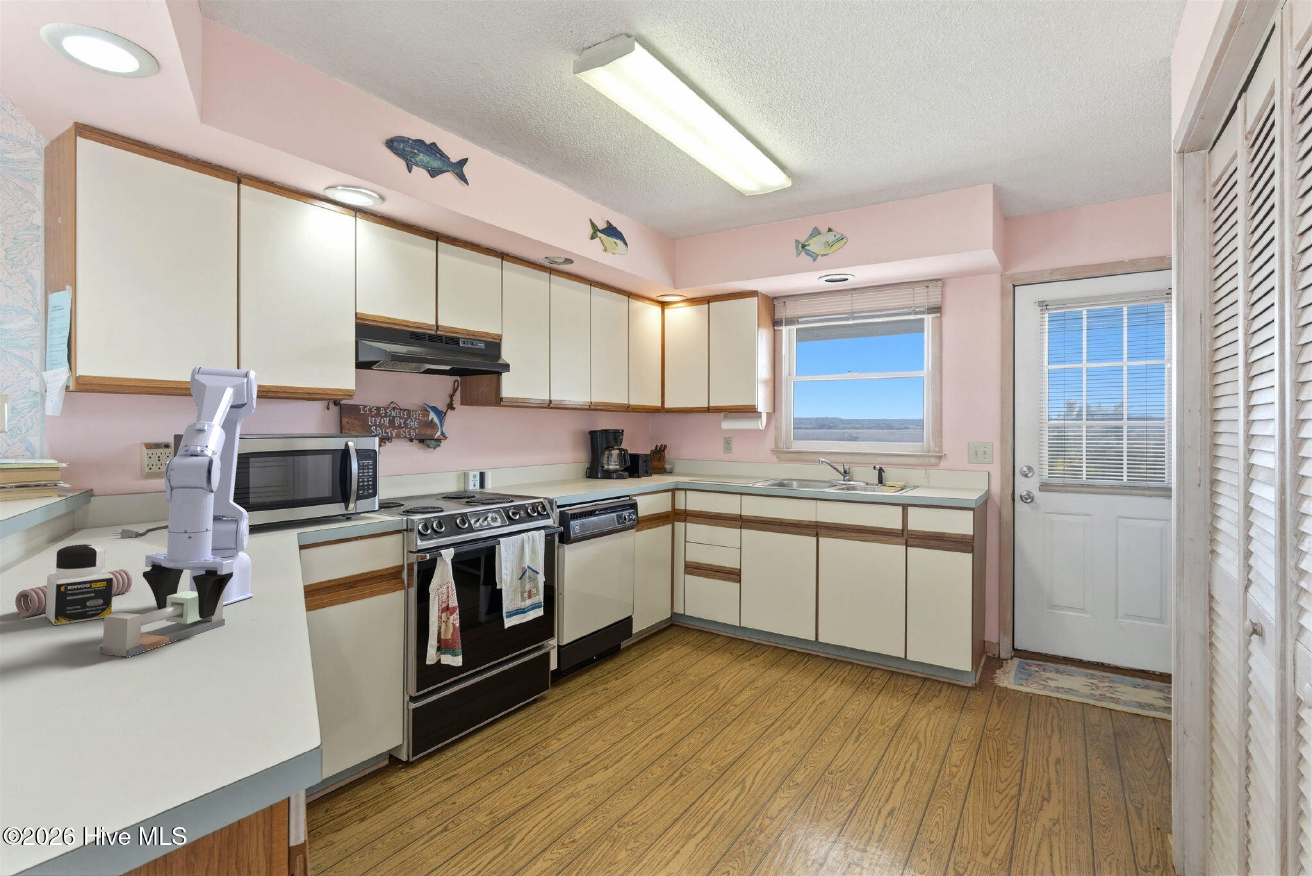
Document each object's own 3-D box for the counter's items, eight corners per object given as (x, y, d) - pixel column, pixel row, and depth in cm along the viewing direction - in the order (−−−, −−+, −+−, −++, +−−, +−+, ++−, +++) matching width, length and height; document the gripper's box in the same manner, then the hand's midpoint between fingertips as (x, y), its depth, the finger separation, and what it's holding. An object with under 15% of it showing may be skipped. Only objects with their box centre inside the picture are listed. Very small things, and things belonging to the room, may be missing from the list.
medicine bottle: (54, 626, 100) (57, 551, 100) (45, 616, 104) (48, 545, 104) (111, 617, 106) (115, 546, 106) (101, 608, 110) (104, 540, 110)
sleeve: (186, 615, 102) (187, 590, 102) (206, 617, 102) (208, 593, 102) (165, 621, 99) (166, 596, 99) (187, 623, 98) (188, 598, 98)
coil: (33, 593, 103) (139, 570, 121) (10, 588, 103) (118, 566, 121) (30, 621, 103) (136, 594, 121) (6, 616, 104) (115, 589, 121)
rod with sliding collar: (199, 621, 105) (200, 589, 105) (224, 624, 105) (226, 592, 105) (99, 653, 90) (101, 615, 90) (128, 657, 89) (130, 619, 89)
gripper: (127, 530, 98) (123, 617, 98) (207, 537, 95) (203, 626, 95) (170, 524, 105) (166, 605, 105) (245, 531, 102) (241, 613, 102)
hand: (186, 614), depth 100 cm, fingers open, 7 cm apart
